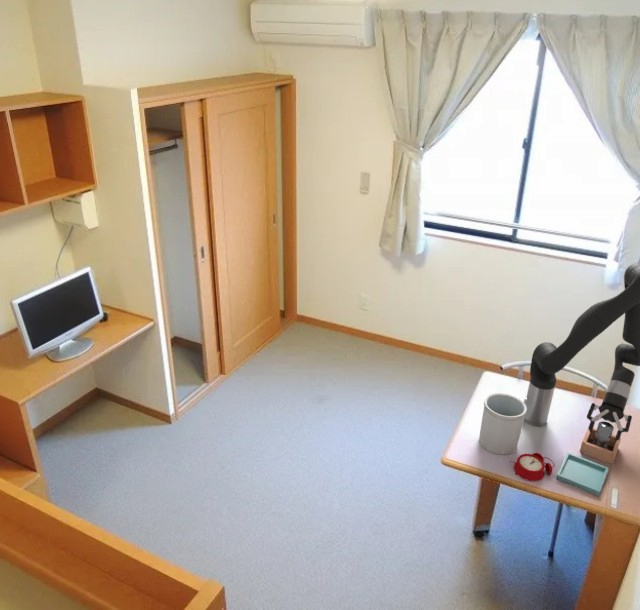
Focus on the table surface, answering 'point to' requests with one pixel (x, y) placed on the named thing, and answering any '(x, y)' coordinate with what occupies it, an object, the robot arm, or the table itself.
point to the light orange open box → (599, 451)
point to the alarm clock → (532, 467)
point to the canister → (603, 434)
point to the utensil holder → (502, 423)
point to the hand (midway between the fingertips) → (602, 436)
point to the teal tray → (582, 473)
